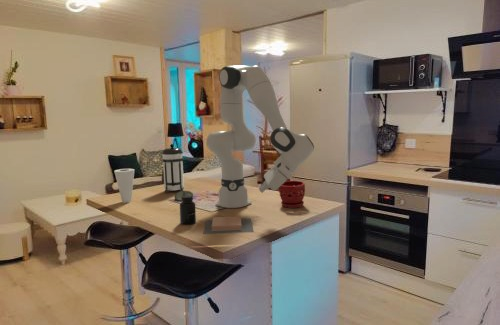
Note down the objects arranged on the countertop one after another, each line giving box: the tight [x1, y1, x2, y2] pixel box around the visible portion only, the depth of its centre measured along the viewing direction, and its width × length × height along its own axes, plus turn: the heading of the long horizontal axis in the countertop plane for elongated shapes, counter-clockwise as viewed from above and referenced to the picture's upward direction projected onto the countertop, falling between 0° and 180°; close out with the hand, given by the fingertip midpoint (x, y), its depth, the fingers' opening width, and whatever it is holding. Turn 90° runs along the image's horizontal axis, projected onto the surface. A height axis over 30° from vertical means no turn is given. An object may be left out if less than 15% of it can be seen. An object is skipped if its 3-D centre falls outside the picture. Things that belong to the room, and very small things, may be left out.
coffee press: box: [161, 143, 185, 194], centre depth 213 cm, size 17×16×30 cm
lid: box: [174, 190, 194, 202], centre depth 194 cm, size 11×10×5 cm
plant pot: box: [278, 180, 306, 209], centre depth 174 cm, size 13×13×12 cm
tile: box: [212, 215, 242, 231], centre depth 143 cm, size 12×2×12 cm
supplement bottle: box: [179, 195, 197, 226], centre depth 150 cm, size 7×7×12 cm
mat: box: [202, 217, 254, 235], centre depth 144 cm, size 18×20×1 cm
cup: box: [113, 168, 136, 204], centre depth 190 cm, size 11×11×18 cm
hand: (260, 190), depth 144 cm, fingers closed
